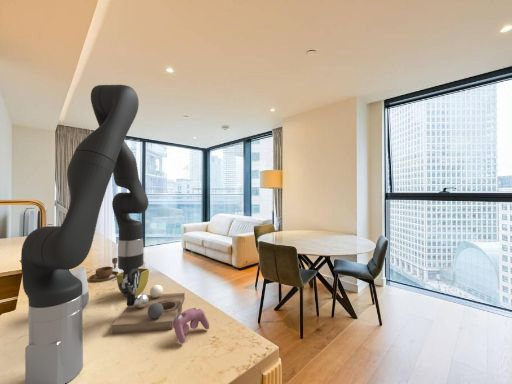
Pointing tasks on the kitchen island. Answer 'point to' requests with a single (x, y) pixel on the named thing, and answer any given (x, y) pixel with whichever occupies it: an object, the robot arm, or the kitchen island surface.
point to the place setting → (104, 273)
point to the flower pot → (142, 281)
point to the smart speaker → (81, 275)
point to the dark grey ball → (155, 310)
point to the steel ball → (141, 300)
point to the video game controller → (185, 317)
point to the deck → (139, 318)
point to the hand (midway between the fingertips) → (131, 304)
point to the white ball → (156, 291)
